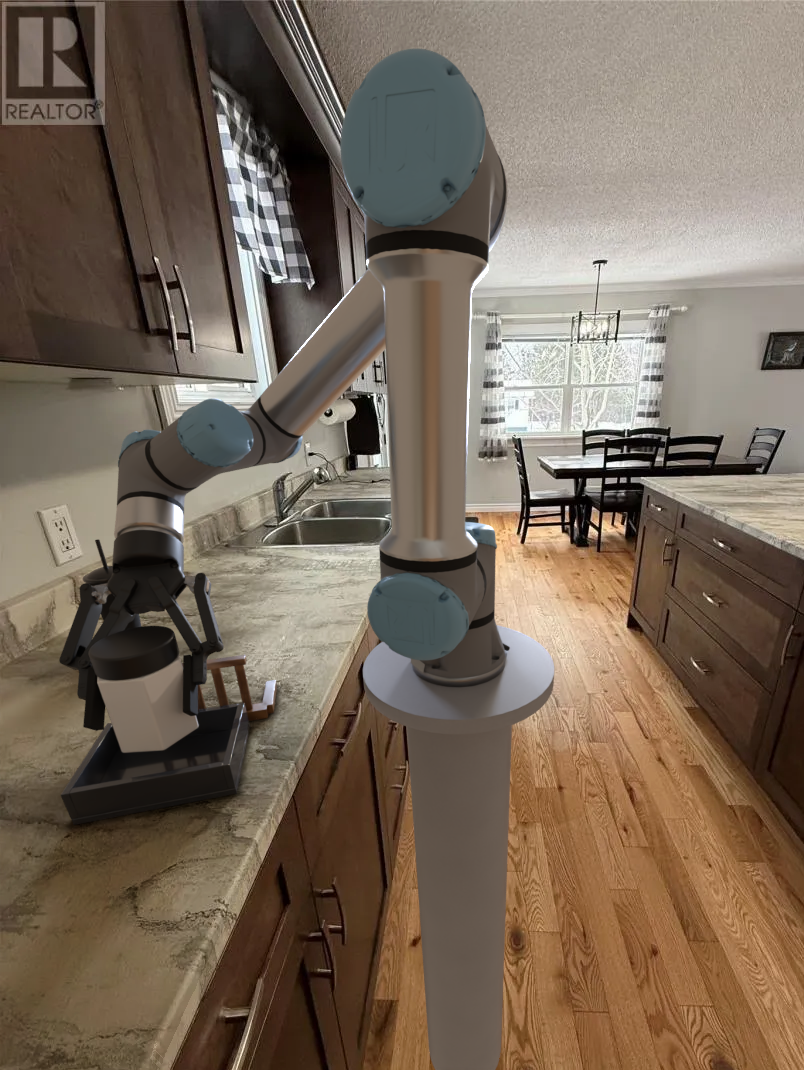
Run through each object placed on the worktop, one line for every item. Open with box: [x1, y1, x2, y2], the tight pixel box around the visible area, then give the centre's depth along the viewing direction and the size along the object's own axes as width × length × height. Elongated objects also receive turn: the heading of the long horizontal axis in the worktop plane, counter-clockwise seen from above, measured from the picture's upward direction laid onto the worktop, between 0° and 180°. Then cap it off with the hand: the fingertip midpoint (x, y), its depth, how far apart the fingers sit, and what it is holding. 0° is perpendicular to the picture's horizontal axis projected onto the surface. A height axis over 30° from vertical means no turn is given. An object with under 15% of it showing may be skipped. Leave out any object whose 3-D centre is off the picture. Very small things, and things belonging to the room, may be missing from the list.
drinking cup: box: [82, 539, 142, 630], centre depth 89 cm, size 8×8×20 cm
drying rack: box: [182, 654, 278, 722], centre depth 69 cm, size 18×8×10 cm, turn 104°
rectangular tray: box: [60, 702, 251, 826], centre depth 59 cm, size 17×13×4 cm
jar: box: [89, 625, 199, 753], centre depth 55 cm, size 9×8×12 cm
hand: (143, 720), depth 53 cm, fingers closed on jar, 9 cm apart
